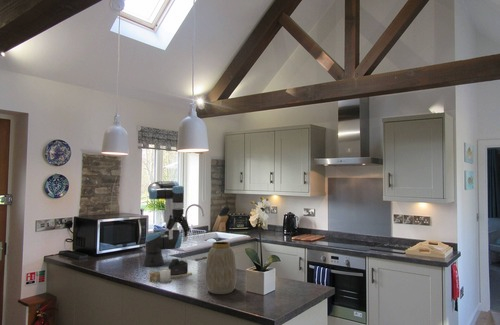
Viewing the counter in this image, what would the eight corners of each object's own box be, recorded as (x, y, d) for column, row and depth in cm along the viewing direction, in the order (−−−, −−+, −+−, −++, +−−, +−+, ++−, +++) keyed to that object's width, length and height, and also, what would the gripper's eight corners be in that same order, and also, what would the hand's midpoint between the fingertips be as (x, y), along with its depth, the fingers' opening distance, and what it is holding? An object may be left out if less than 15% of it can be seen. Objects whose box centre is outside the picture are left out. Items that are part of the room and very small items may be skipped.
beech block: (149, 281, 227) (149, 273, 227) (154, 279, 232) (154, 271, 232) (156, 282, 225) (156, 273, 225) (160, 279, 230) (160, 271, 230)
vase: (211, 297, 195) (211, 246, 196) (202, 288, 211) (202, 241, 212) (240, 293, 202) (240, 244, 203) (230, 285, 218) (229, 239, 219)
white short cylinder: (157, 282, 225) (157, 270, 225) (164, 279, 230) (164, 268, 230) (165, 283, 222) (165, 272, 222) (172, 280, 227) (172, 269, 227)
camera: (181, 270, 248) (181, 255, 248) (189, 273, 241) (189, 258, 241) (164, 274, 238) (164, 258, 239) (172, 277, 231) (172, 261, 232)
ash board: (162, 276, 237) (162, 274, 237) (179, 271, 249) (179, 270, 249) (175, 279, 230) (175, 277, 230) (191, 274, 242) (191, 272, 242)
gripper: (161, 207, 250) (160, 238, 250) (187, 210, 236) (186, 243, 235) (169, 207, 256) (169, 237, 256) (195, 209, 242) (194, 241, 241)
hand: (177, 240), depth 246 cm, fingers open, 13 cm apart
